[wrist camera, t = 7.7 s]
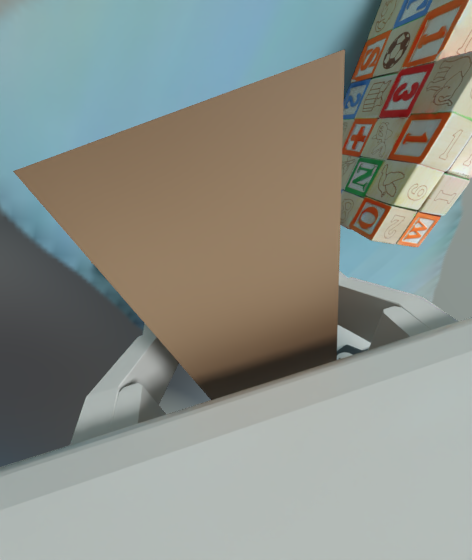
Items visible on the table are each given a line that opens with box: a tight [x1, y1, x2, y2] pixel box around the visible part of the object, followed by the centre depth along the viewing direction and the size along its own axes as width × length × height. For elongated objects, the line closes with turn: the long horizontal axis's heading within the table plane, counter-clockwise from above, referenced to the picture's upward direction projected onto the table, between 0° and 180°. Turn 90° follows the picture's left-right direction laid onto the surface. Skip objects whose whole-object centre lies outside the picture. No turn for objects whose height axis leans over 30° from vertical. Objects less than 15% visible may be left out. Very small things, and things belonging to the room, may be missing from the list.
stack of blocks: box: [340, 0, 472, 247], centre depth 19 cm, size 21×6×12 cm, turn 168°
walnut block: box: [13, 49, 345, 400], centre depth 8 cm, size 12×4×6 cm, turn 17°
